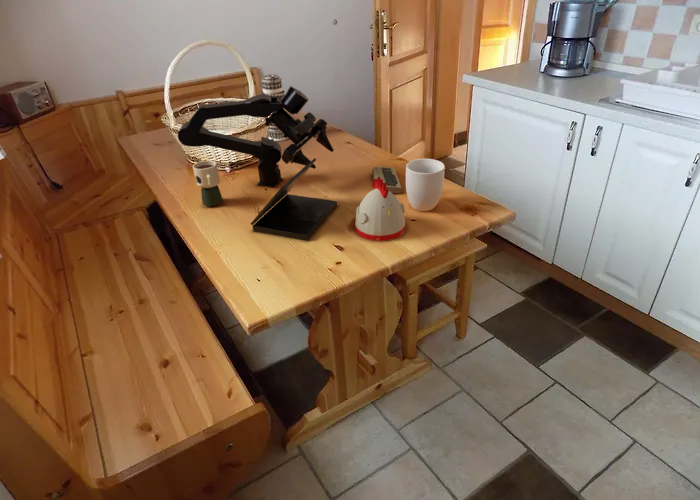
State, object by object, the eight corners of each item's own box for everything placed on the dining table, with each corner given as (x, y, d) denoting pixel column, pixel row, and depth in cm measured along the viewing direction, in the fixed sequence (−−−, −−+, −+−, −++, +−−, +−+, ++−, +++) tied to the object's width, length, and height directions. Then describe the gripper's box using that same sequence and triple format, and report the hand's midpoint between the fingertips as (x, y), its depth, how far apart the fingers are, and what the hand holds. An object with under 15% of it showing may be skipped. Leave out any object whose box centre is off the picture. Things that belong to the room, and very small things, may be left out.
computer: (402, 193, 149) (402, 183, 148) (376, 195, 149) (376, 185, 147) (395, 173, 163) (395, 164, 161) (371, 175, 162) (371, 166, 161)
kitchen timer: (368, 245, 124) (367, 194, 116) (347, 222, 135) (345, 174, 127) (414, 233, 129) (416, 182, 121) (390, 212, 140) (391, 164, 131)
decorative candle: (280, 142, 193) (272, 79, 180) (263, 139, 197) (254, 77, 184) (294, 136, 199) (287, 74, 186) (277, 132, 204) (269, 72, 190)
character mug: (198, 199, 152) (189, 161, 145) (220, 194, 154) (212, 156, 147) (205, 213, 144) (195, 173, 136) (228, 207, 146) (220, 168, 139)
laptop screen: (316, 159, 138) (314, 157, 138) (283, 189, 122) (280, 187, 121) (287, 194, 148) (285, 192, 148) (252, 225, 132) (250, 223, 132)
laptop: (337, 206, 144) (336, 200, 143) (307, 241, 128) (307, 234, 127) (287, 199, 149) (287, 193, 148) (253, 231, 133) (252, 225, 132)
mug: (402, 193, 150) (403, 154, 143) (437, 192, 149) (439, 152, 142) (406, 215, 137) (407, 174, 130) (444, 214, 137) (448, 172, 130)
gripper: (274, 127, 138) (313, 164, 139) (313, 95, 147) (350, 129, 148) (266, 147, 148) (303, 181, 149) (304, 115, 157) (338, 147, 158)
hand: (324, 159), depth 151 cm, fingers open, 9 cm apart
